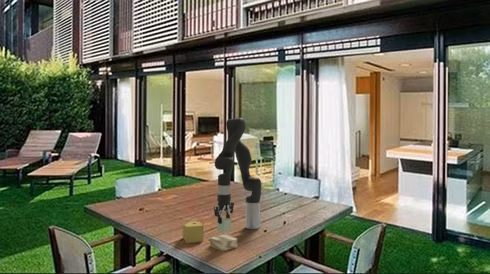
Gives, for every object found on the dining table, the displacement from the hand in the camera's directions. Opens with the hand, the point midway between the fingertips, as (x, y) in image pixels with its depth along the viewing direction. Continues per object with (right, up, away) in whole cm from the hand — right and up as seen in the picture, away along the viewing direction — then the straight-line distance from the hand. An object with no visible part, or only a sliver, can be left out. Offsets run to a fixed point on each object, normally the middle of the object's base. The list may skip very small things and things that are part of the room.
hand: (223, 222), depth 218 cm
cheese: (-19, -13, +11) cm, 26 cm away
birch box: (0, -14, +1) cm, 14 cm away
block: (0, -5, 0) cm, 5 cm away
